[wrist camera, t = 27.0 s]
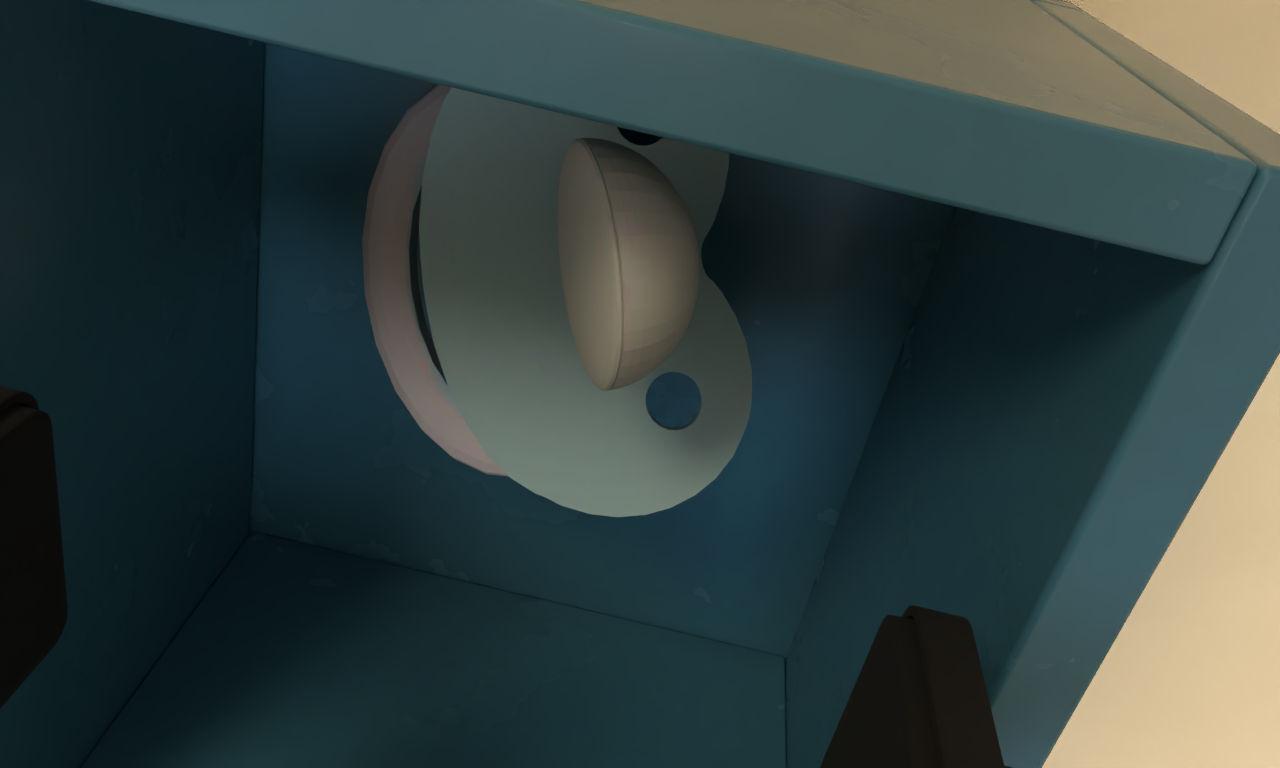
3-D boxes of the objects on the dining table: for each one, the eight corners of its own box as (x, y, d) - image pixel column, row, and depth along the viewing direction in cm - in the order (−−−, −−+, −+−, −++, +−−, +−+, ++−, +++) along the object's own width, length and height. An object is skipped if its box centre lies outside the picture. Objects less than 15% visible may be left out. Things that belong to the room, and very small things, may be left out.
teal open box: (240, -196, 16) (-297, -206, 8) (1074, 3, 16) (1379, 192, 8) (228, 527, 23) (-69, 916, 15) (814, 666, 23) (836, 1130, 15)
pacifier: (405, 506, 18) (757, 471, 18) (256, 633, 12) (796, 582, 11) (346, 67, 17) (713, 22, 17) (152, -46, 11) (729, -121, 11)
